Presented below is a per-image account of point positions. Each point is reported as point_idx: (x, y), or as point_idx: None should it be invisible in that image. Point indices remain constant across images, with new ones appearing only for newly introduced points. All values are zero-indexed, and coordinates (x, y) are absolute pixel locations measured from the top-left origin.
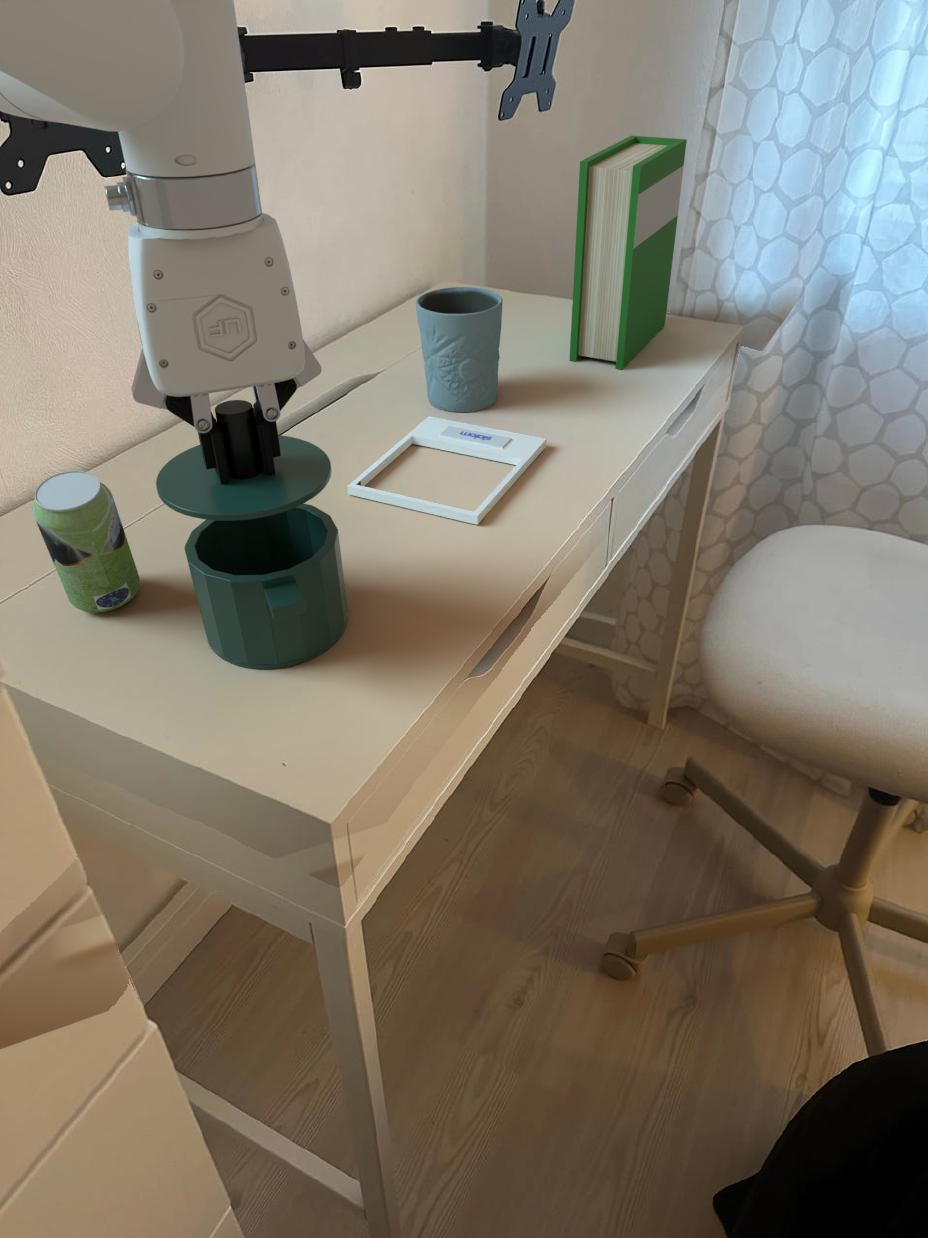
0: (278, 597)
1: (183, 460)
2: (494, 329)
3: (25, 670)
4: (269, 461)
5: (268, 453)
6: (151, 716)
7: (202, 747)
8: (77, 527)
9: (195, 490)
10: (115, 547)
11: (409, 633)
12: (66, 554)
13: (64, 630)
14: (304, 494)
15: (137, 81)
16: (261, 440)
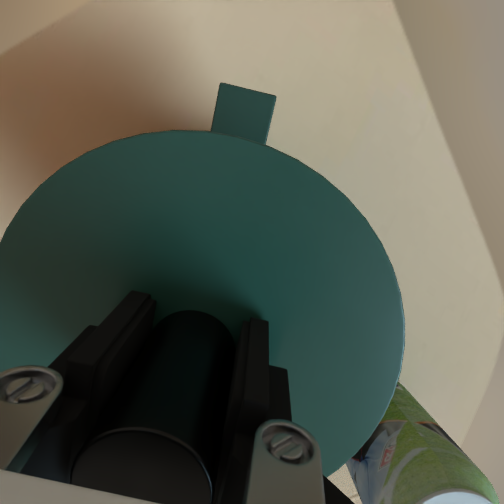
0: (252, 120)
1: None
2: None
3: (494, 333)
4: (132, 304)
5: (123, 314)
6: (421, 170)
7: (399, 79)
8: (452, 459)
9: (329, 330)
10: (380, 425)
11: (87, 120)
12: (451, 439)
13: (431, 375)
14: (109, 151)
15: None
16: (120, 342)
